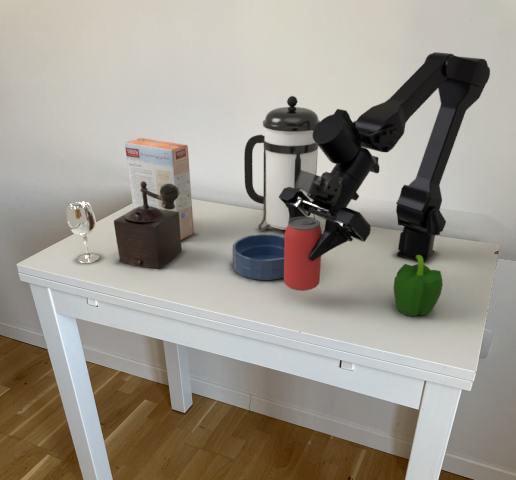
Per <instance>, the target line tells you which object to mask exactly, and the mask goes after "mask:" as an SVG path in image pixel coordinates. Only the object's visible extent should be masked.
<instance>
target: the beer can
mask: <svg viewBox="0 0 516 480" xmlns="http://www.w3.org/2000/svg"><path fill="white" fill-rule="evenodd" d="M322 233H323V231H322V228H321V223H320V221H319V219H317V218H316V217H315V218H314V217H313V218H311V217H295V218H292V219H290V220H289V221H288V226H287V228H286V230H284V237H285V246H284V278H283V282H284V284H285V286H287V287H288V288H289V289H291V290H293V291H300V292H303V291H310V290H313V289H315V288H317V286H318V285H320V278H321V262H322V256H320V257H318V258H317V259H315V260H313V261H311V260H310V259H309V258H308V257H309V255H310V253H311V251H312V249H313V248H314V246H315V244H316V243H317V241H318V240H319V238H320V236H321V235H322Z"/></svg>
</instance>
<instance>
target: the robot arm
mask: <svg viewBox="0 0 516 480" xmlns="http://www.w3.org/2000/svg"><path fill="white" fill-rule="evenodd" d="M490 76H491V68H490V67H489V64H488V61H487V60H486V59H485V58H477V57H468V56H467V57H466V56H458V55H455V54H453V53H450V52H449V53H447V52H439V51H438V52H437V51H435V52H432V53H429V54H428V55H427V56H426V58H425V60H424V63H423V64H422V65H421V66H420V67H419V68H418V69H417V70H416V71H415V72H414V73H413V74H412V75H411V76H409V78H408V79H407V80H406V81H405V82H404V83H403V84H402V85H401V86H400V87H399V88H398V89H397V90H396V91H395V92H394V93H393V94H392V95H391V96H390V98H388V99H387V100H386V101H384V102H381V103H379V104H376V105H373V106H371V107H370V108H369V109H367V110H366V111H365V112H363V113H361V115H359V116H358V117H357V119H356V120H354V121H352V119H351V116H350V114H349V112H348V111H347V110H345V109H340V108H336V110H335V112H334V113H333V114H330V115H327V116H325V117H324V118H323V119H322V120H319V121H320V122H318V123H317V125H316V126H315V128H314V130H313V140H314V141H315V142H316V144H317V145H318V148H319V149H320V150H321V152H322V153H323V154H324V155H325V157H326V158H327V159H328V160H329V162H330V163H332V164H335V165H334V167H333V168H332V170H331V171H330V172H329V171H324V172H323V173H322V174H321V175H317V174H316V175H315V174H312V173H309V172H306V171H302V170H300V173H299V176H298V179H297V182H296V185H295V187H294V188H295V189H294V188H292V187H287V188H284V189H283V191H282V192H281V194H280V195H279V198H280V199H281V200H282V201H283V202H284V204H285V205H286V207H287V208H288V210H289V220H290V219H292V218H295V217H307V216H310V214H311V213H312V214H314V216H318V217H320V218H322V219H325V223H324V230H323V231H322V235H321V236H320V238H319V240H318V241H317V243H316V244H315V246H314V248H313V249H312V251H311V253H310V255H309V257H308V258H309V259H310V260H311V261H313V260H315V259H317V258H318V257H320V256H321V257H322V256H324V255H325V254H327V253H328V252H329V251H331V250H333V249H335V248H336V247H339V246H341V245H342V244H343V245H344V244H345V243H347V242H353V240H354V239H356V240H357V241H360V242H363V243H365V242H366V241H367V240H368V237H369V236H370V235H371V230H372V228H371V227H372V226H371V224H370V223H369V222H368V220H366V218H365V217H364V216H363V215H362V213H361V212H360V211H358V210H354V209H352V208H349V207H348V205H349V204H350V203H351V201H352V200H353V201H357V200H358V199H359V197H360V195H359V194H358V190H359V189H360V187H361V186H362V185H363V183H364V181H365V180H366V178H367V176H368V175H369V173H370V172H371V173H374V174H379V173H380V163H379V157H378V156H376V155H372V153H371V152H370V150H371V151H372V150H373V151H376V152H380V153H389V152H391V150H393V149H394V148H395V146H397V144H398V142H399V141H400V140H401V138H402V137H403V135H404V134H405V132H406V131H405V130H406V125H407V124H406V123H407V122H408V121H409V120H410V118H411V117H412V116H413V115H414V114H415V113H416V112H417V111H418V110H419V109H420V108H421V107H422V105H424V103H425V102H427V100H428V99H429V98H431V96H432V95H433V94H434V93H435V92H436V91H437V90H438V95H439V101H440V105H439V109H438V111H437V115H436V118H435V120H434V124H433V127H432V129H431V133H430V136H429V139H428V142H427V144H426V147H425V149H424V153H423V156H422V158H421V161H420V164H419V168H418V170H417V173H416V176H415V178H414V179H413V180H412V181H411V182H410V183H409V184H403V186H402V187H401V188H400V189H401V190H400V193H399V196H398V199H397V200H396V203H395V204H396V209H395V213H396V219H397V225H398V226H401V227H403V229H402V232H400V233H399V234H400V235H399V241H398V247H397V250H398V252H397V253H396V256H397V257H400V258H405V259H409V260H412V261H416V262H418V260H417V259H416V256H417V255H421V256H422V257H423V262H424V263H426V262H427V261H428V260H429V259H430V258H431V257H432V256H433V255H434V254H435V250H433V249H434V244H435V239H436V236H440V235H441V233H442V232H443V231H444V229H445V226H446V224H447V220H446V219H445V217H444V216H443V214H442V212H441V206H442V202H443V197H442V192H441V191H442V190H441V187H440V185H441V183H442V178H443V176H444V173H445V171H446V167H447V165H448V163H449V160H450V156H451V154H452V151H453V148H454V146H455V142H456V140H457V137H458V134H459V133H460V132H459V131H460V129H461V127H462V124H463V121H464V118H465V115H466V112H467V110H468V109H470V108H471V107H472V106H473V105H474V104H475V103H476V102H477V101H478V100H479V99H480V97H481V96H482V93H483V91H484V88H485V87H486V85H487V83H488V81H489V79H490ZM297 189H302V190H304V191H305V192H306V193H307V195H308V196H309V197H310V198H312V199H313V201H312V202H311V201H310V200H309V199H308V198H307V197H306V195H305V194H304V193H303V192H302V191H300V190H297ZM284 246H285V238H284V242H283V247H284Z"/></svg>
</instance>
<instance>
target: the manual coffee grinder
mask: <svg viewBox="0 0 516 480" xmlns="http://www.w3.org/2000/svg"><path fill="white" fill-rule="evenodd" d="M140 184H141V187H142V188H141V190H140V192H142V196H143V206H139V207H137V208H135V209H133V208H132V209H131V210H130V211H128V212H126V213H125V214H122V215H121V216H119V217H117V218H115V219H114V220H113V226H114V232H115V239H116V245H117V251H118V258H119V259H118V261H119V263H122V264H127V265H131V266H136V267H146V268H151V269H152V268H153V269H161V268H163V267H165V266H168V265H169V263H171V262H172V261H173V260H175V259H176V258H177V257H178V256H179V255H180V254H182V251H183V248H182V240H181V236H180V221H179V212H175V211H169V210H171V209H174V208H175V204H174V201H175V200H176V199H177V198H178V196H179V193H180V192H179V190H178V188H177V187H176V186H175V185H173V184H165V185H163V186H162V187H161V188H160V195H161V196H160V195H158V194H155V193H152V192H150V191H148V190H147V188H146V186H147V184H146V182H144V181H142V182H141V183H140ZM147 195H149V196H151V197H153V198H156V199H159V200H161V201H163V202H162V204H161V206H162V207H163V208H164V209H167V210H162V209H158V208H156V207H153V206H149V205H148V201H147ZM168 209H169V210H168Z"/></svg>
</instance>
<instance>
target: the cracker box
mask: <svg viewBox="0 0 516 480" xmlns="http://www.w3.org/2000/svg"><path fill="white" fill-rule="evenodd" d="M124 148H125V155H126V156H125V157H126V162H127V164H126V165H127V172H128V179H129V186H130V194H131V195H130V196H131V202H132V210H133V209H135V208H137V207H139V206H143V196H142V192H140V190H141V188H142V187H141V184H140V183H141V182H142V181H144V182H146V184H147V186H146V188H147V190H148V191H150V192H152V193H155V194H158V195H160V188H161V187H162V186H163V185H165V184H173V185H175V186H176V187H177V188H178V190H179V192H180V193H179V196H178V198H177V199H176V200H175V201H174V204H175V208H174V209H171V210H169V209H168V210H169V211H175V212H179V221H180V236H181V241H182V240H184V239H186V238H189V237H190V236H192V235H194V234H195V229H194V228H195V227H194V216H193V215H194V214H193V213H194V212H193V201H192V189H191V188H192V186H191V174H190V173H191V172H190V158H189V145H188V144H183V143H175V142H169V141H163V140H156V139H151V138H150V139H149V138H144V137H143V138H142V137H139V138H136V139H132V140H129V141H126V142H124ZM160 196H161V195H160ZM147 201H148V205H149V206H153V207H156V208H158V209H162V210H167V209H164V208H163V207H162V206H161V204H162V202H163V201H161V200H159V199H156V198H153V197H151V196H149V195H147Z"/></svg>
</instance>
